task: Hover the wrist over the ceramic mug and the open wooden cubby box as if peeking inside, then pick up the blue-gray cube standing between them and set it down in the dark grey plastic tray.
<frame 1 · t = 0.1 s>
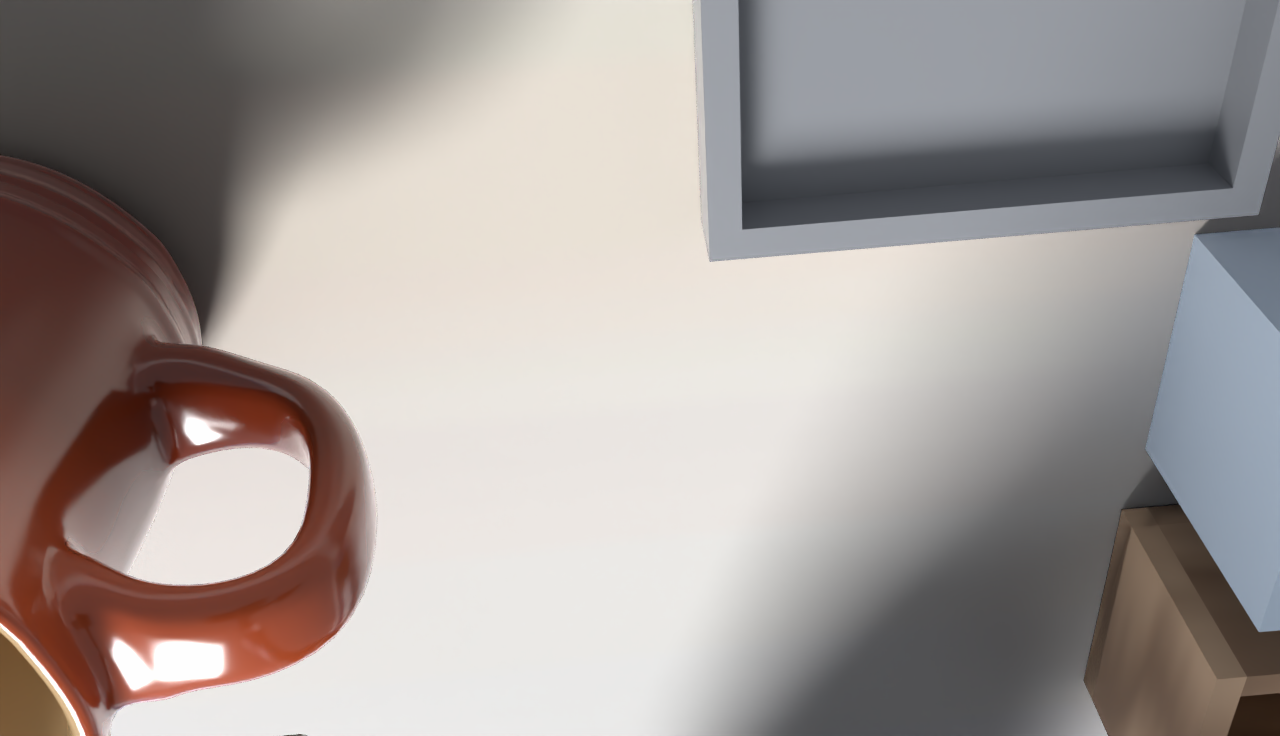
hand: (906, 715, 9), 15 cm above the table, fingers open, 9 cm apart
open wooden cubby box: (1222, 589, 30), on the table
mug: (109, 288, 24), on the table
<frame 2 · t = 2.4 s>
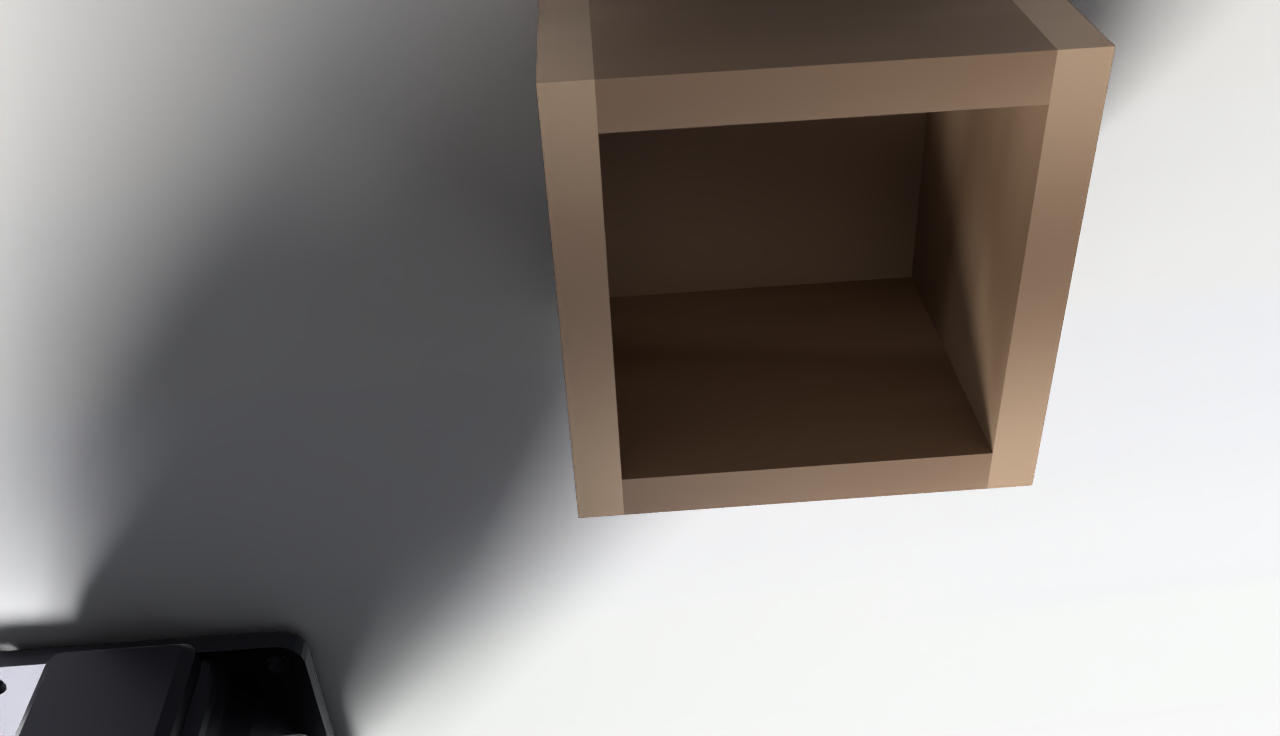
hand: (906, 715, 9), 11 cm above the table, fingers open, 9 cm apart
open wooden cubby box: (757, 130, 18), on the table
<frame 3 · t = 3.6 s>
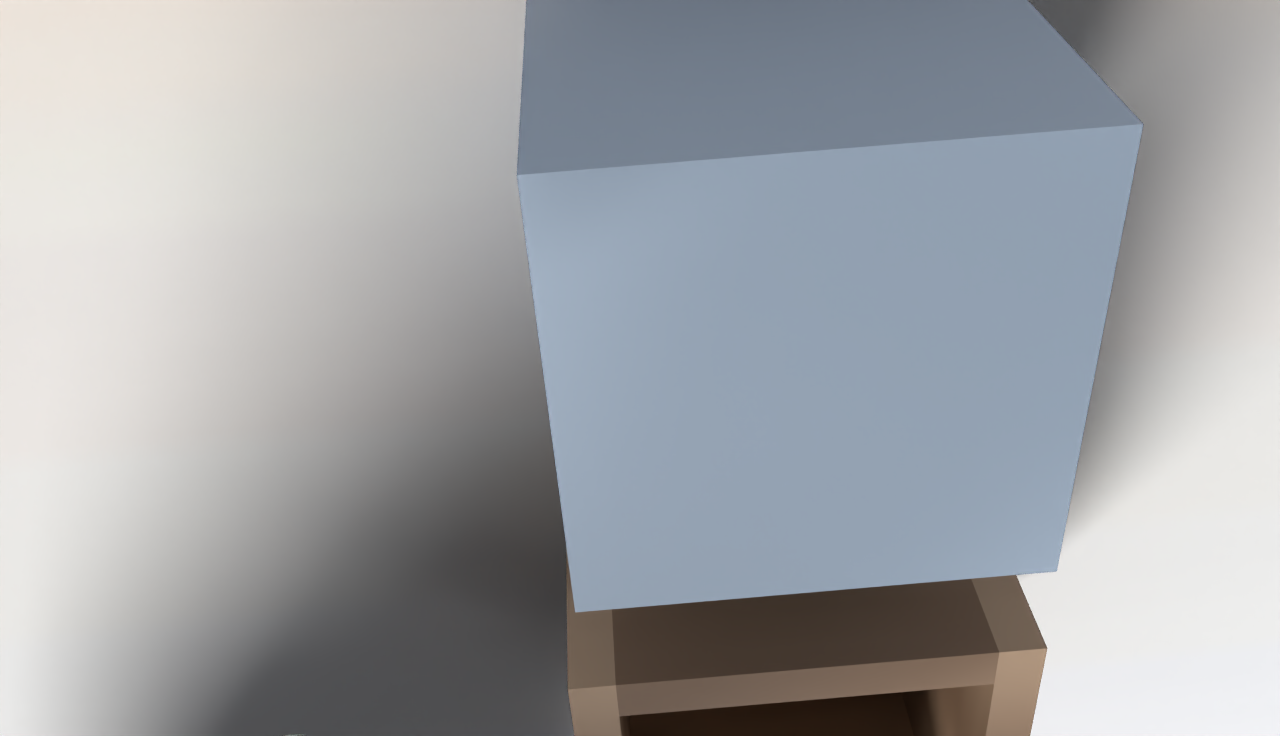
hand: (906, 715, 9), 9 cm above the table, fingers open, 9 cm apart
open wooden cubby box: (755, 557, 21), on the table
blue-gray cube: (751, 157, 17), on the table
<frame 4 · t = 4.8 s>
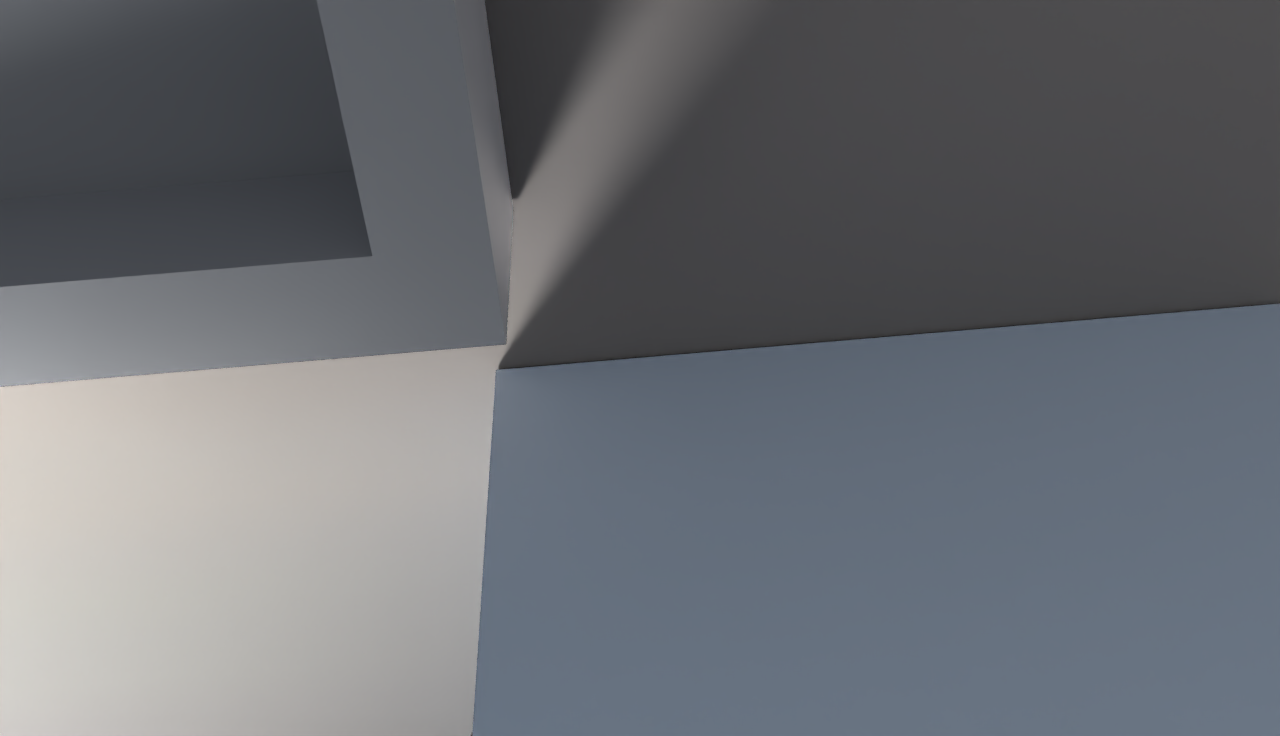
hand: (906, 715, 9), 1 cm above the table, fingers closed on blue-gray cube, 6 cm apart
blue-gray cube: (871, 611, 10), on the table, touching gripper
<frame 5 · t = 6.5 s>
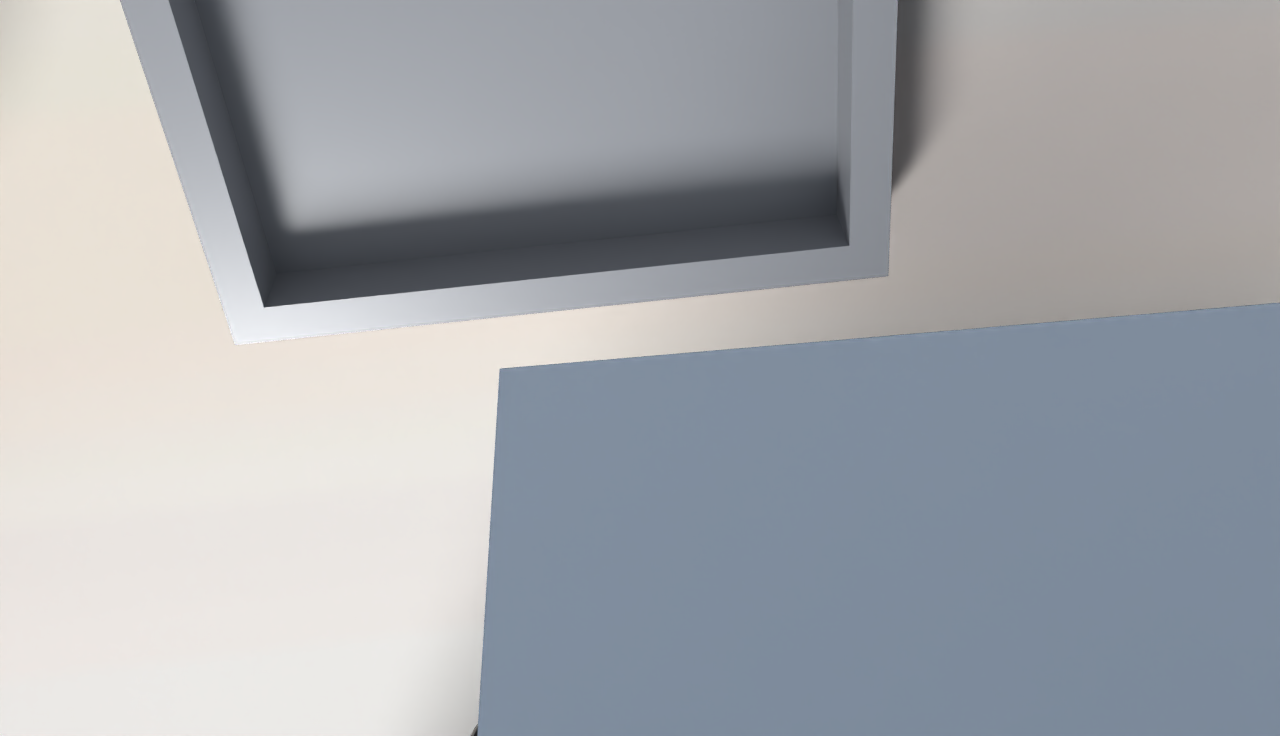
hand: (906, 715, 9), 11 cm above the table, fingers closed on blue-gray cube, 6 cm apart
blue-gray cube: (874, 610, 10), point 10 cm above the table, touching gripper
when the fingers open (3 cm above the table, at t = 8.4 s): blue-gray cube drops 2 cm, resting on tray.
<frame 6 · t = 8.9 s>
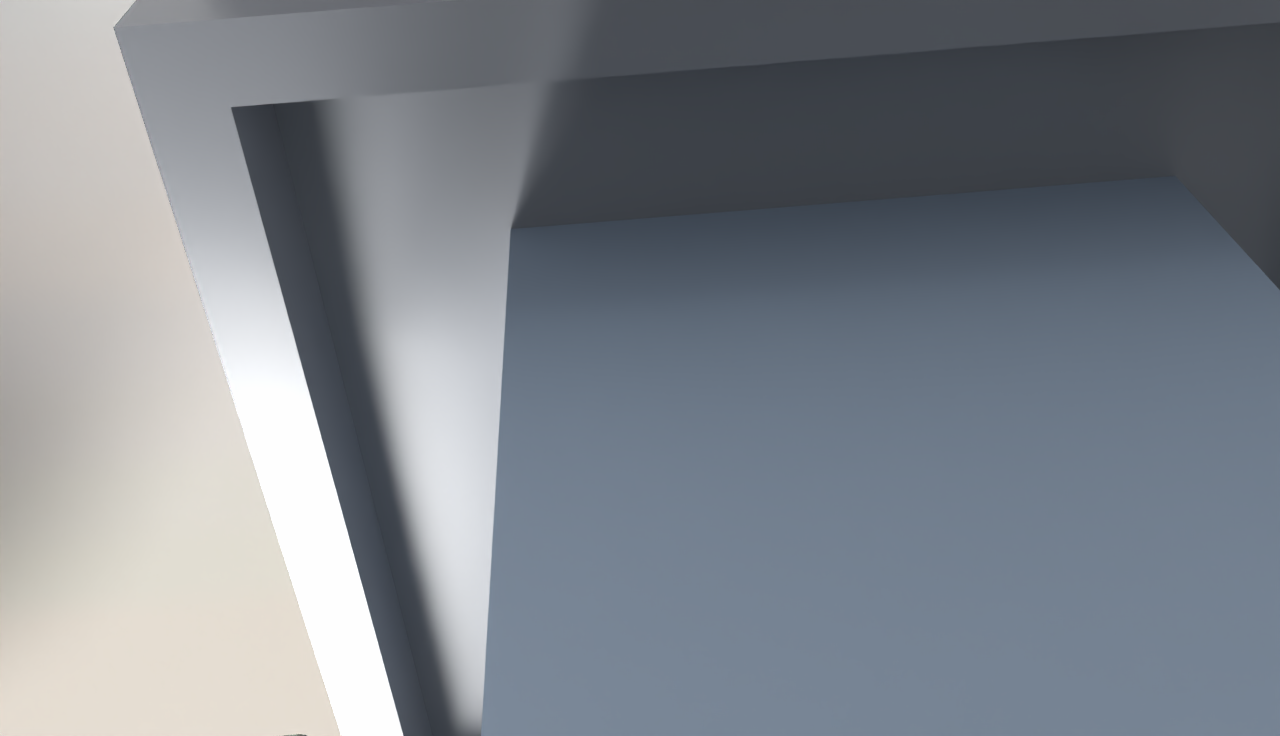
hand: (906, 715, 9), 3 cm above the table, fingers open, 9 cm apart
blue-gray cube: (832, 458, 12), resting on tray
tray: (823, 425, 12), on the table
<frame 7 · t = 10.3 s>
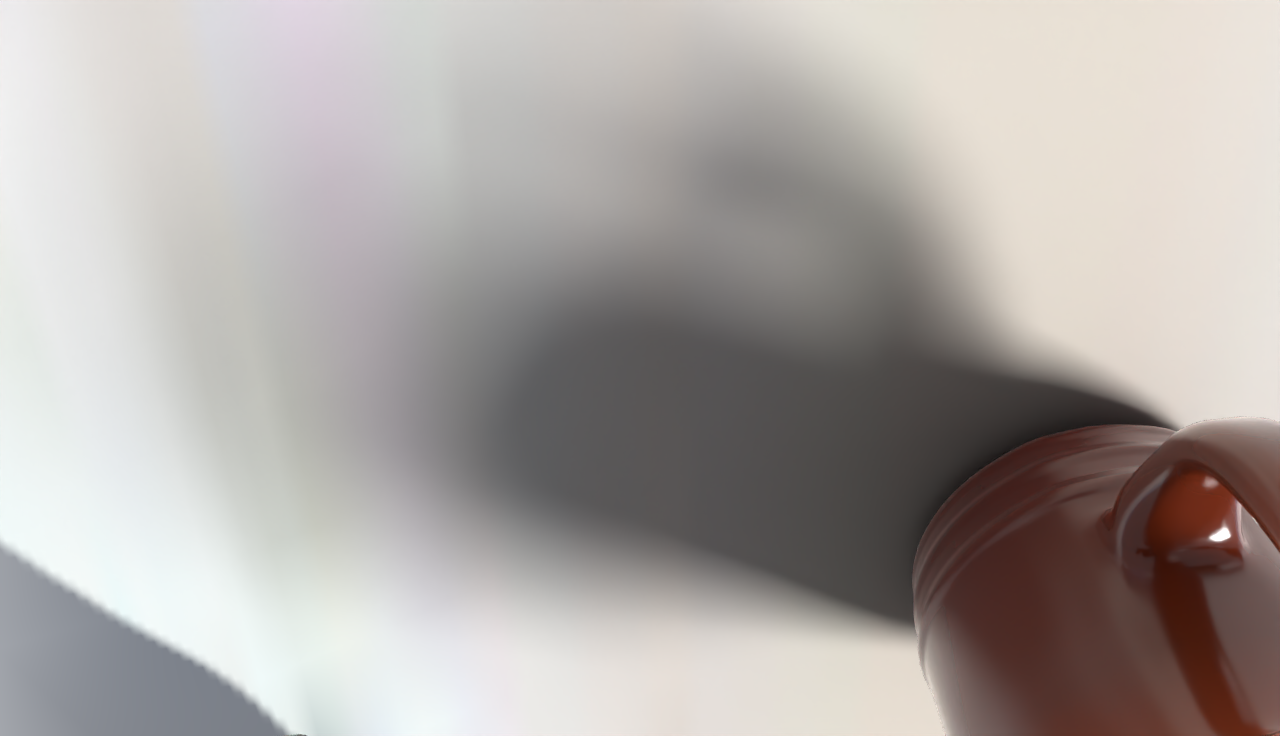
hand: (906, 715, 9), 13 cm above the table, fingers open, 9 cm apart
mug: (1074, 471, 25), on the table
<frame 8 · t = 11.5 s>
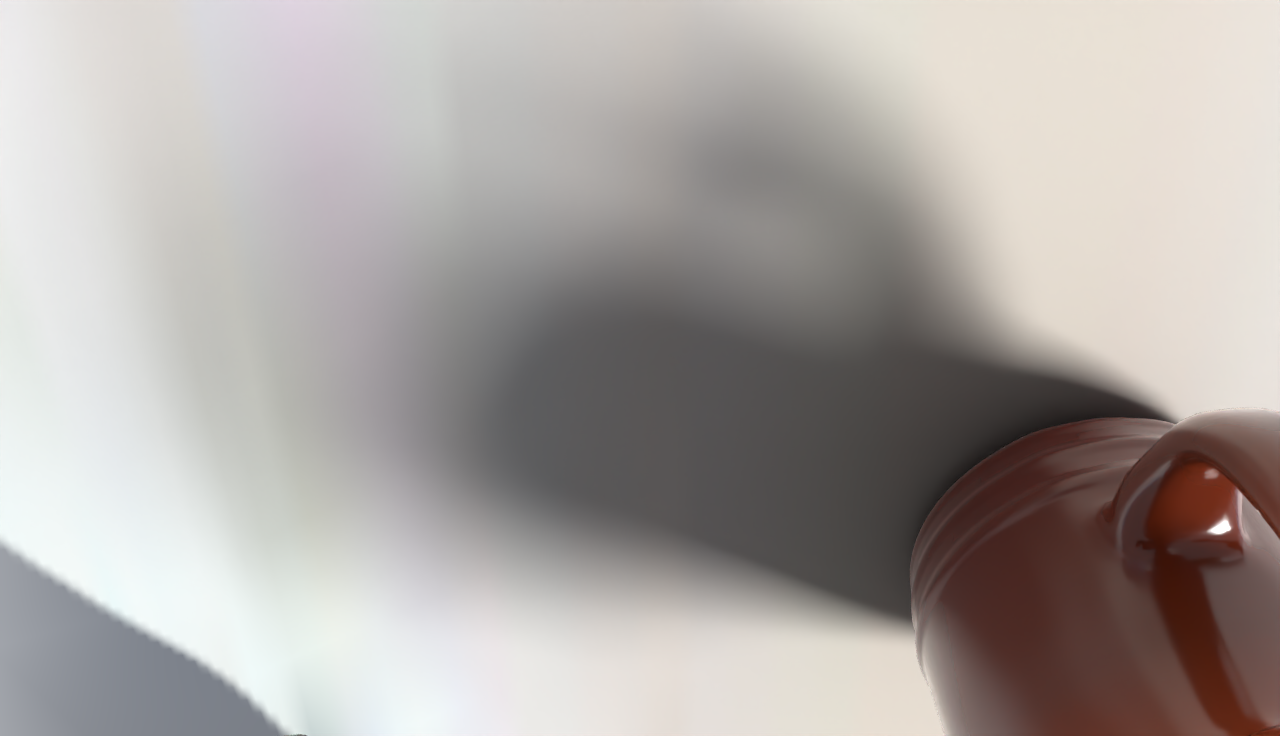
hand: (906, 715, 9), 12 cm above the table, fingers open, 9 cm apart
mug: (1073, 465, 25), on the table
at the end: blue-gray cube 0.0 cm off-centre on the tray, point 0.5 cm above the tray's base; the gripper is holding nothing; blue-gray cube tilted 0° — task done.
